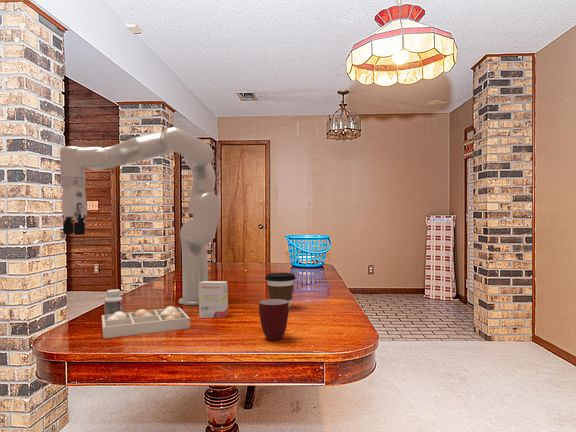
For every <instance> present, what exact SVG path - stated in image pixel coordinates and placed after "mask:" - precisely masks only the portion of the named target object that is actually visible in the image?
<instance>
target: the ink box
mask: <svg viewBox="0 0 576 432" xmlns="http://www.w3.org/2000/svg"><path fill="white" fill-rule="evenodd" d="M228 288H229V287H228V281H225V280H224V281H220V280H219V281H217V280H215V281H213V280H211V281H210V280H209V281H203V282H200V283H199V305H198V308H199V309H198V310H199V313H198V314H199V315H198V316H199V318H203V319H204V318H205V319H207V318H208V319H209V318H211V319H213V318H214V319H225V318H226V317H227V316H229V299H228V298H229V297H228V294H229V291H228V290H229V289H228Z"/></svg>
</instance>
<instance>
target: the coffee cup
mask: <svg viewBox="0 0 576 432" xmlns="http://www.w3.org/2000/svg"><path fill="white" fill-rule="evenodd" d="M296 279H297V277H296V276H295V274H294V273H293V272H292V273H290V272H271V273H267V274H266V275H265V277H264V280H265V281H266V282H267V284H266V285H267V292H268V297H269V299H283V300H287V301H288V302H289V308H290V307H291V303H292V299H293V291H294V286H295V285H294V283H295V280H296Z"/></svg>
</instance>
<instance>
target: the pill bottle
mask: <svg viewBox="0 0 576 432" xmlns="http://www.w3.org/2000/svg"><path fill="white" fill-rule="evenodd" d="M123 301H124V300H123V297H122V296H121V290H120V289H109V290H108V289H107V290H106V297H105V298H104V315H109V314H114V313H115V312H118V311H121V312H123V310H124V309H123V308H124V307H123Z"/></svg>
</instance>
